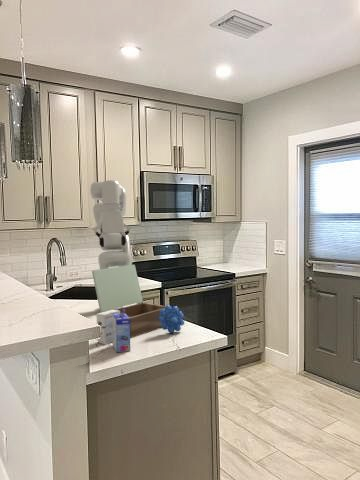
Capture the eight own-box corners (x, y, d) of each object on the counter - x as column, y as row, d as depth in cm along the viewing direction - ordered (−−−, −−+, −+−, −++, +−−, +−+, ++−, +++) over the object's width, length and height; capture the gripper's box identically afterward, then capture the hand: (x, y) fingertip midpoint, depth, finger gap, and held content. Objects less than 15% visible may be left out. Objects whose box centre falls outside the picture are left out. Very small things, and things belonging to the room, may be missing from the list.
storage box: (103, 330, 172) (102, 312, 172) (143, 318, 190) (142, 302, 190) (131, 337, 160) (130, 318, 160) (171, 324, 178) (170, 307, 178)
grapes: (162, 337, 159) (161, 308, 158) (156, 333, 165) (155, 305, 164) (188, 333, 163) (187, 304, 163) (182, 329, 169) (181, 301, 169)
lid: (101, 311, 172) (99, 312, 173) (142, 301, 190) (140, 302, 191) (93, 269, 174) (90, 270, 175) (134, 263, 192) (132, 264, 193)
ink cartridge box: (131, 351, 143) (130, 312, 143) (116, 353, 142) (114, 313, 141) (127, 343, 153) (125, 306, 152) (112, 345, 151) (111, 308, 150)
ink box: (113, 337, 162) (112, 308, 161) (121, 339, 159) (120, 310, 158) (97, 342, 155) (95, 313, 154) (105, 344, 152) (103, 314, 151)
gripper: (127, 208, 184) (128, 244, 185) (90, 208, 177) (92, 246, 178) (132, 207, 177) (133, 245, 178) (93, 208, 170) (95, 247, 171)
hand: (112, 246), depth 178 cm, fingers open, 9 cm apart
